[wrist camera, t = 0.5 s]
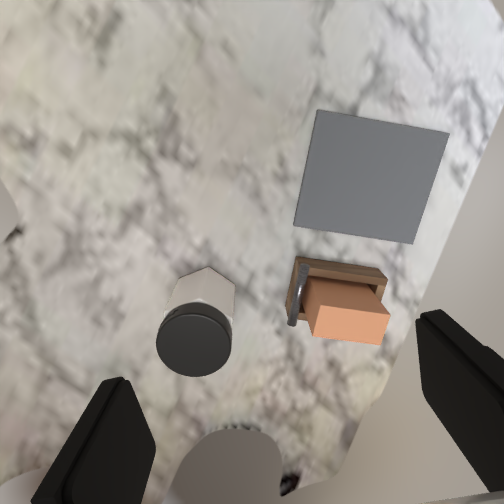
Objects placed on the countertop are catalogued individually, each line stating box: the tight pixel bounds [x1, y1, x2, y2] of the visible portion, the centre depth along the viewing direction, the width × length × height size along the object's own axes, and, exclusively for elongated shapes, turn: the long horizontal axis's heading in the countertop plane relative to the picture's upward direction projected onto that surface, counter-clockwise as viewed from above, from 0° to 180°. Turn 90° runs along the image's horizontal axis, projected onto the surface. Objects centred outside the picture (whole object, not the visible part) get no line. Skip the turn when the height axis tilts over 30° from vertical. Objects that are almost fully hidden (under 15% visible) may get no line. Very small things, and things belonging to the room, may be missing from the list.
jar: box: [156, 267, 235, 377], centre depth 43 cm, size 9×8×12 cm
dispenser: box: [285, 256, 388, 327], centre depth 46 cm, size 8×12×5 cm
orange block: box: [302, 275, 390, 345], centre depth 44 cm, size 4×8×10 cm, turn 81°
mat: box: [293, 110, 450, 244], centre depth 43 cm, size 14×16×1 cm
